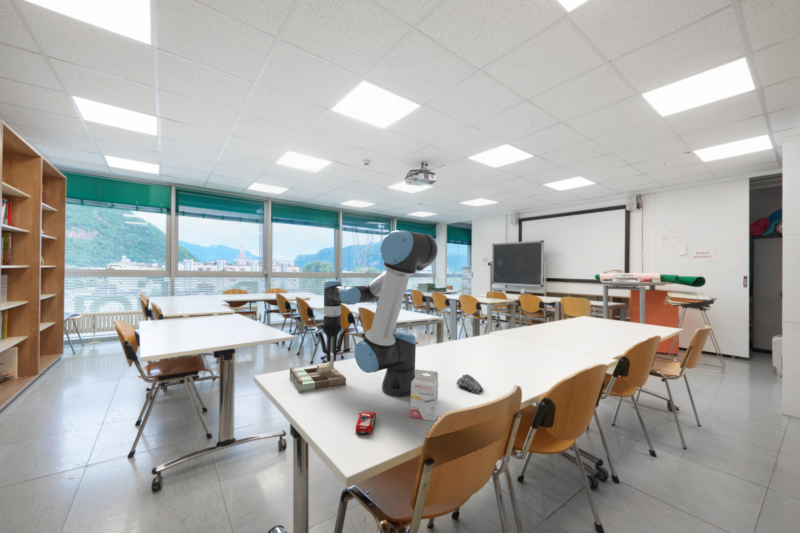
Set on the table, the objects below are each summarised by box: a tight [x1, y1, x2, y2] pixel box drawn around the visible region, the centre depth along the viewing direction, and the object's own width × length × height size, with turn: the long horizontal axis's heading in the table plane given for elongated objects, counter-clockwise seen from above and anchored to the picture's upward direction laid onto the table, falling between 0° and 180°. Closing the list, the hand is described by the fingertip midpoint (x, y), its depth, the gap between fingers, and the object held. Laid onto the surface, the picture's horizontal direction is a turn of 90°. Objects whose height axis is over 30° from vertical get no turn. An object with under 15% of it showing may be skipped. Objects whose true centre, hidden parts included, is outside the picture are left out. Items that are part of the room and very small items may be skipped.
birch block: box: [316, 362, 331, 376], centre depth 143 cm, size 5×5×4 cm
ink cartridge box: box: [409, 368, 439, 422], centre depth 109 cm, size 9×5×15 cm, turn 73°
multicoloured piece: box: [289, 366, 347, 393], centre depth 142 cm, size 20×19×4 cm
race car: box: [355, 410, 377, 435], centre depth 102 cm, size 13×5×4 cm, turn 177°
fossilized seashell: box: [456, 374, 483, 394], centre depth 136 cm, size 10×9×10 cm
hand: (331, 368), depth 145 cm, fingers closed
